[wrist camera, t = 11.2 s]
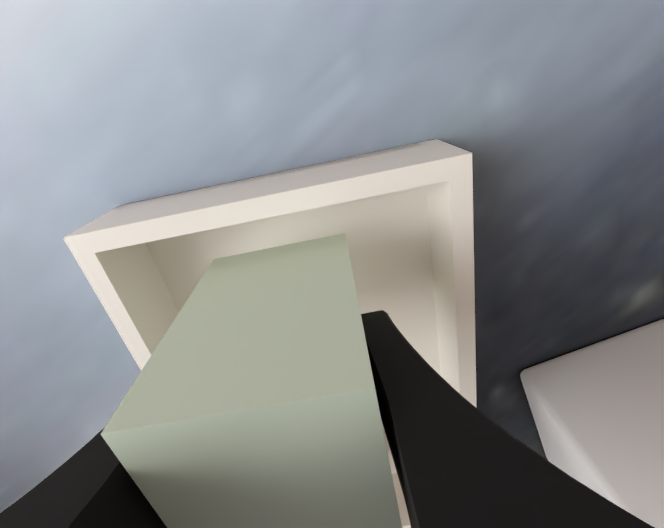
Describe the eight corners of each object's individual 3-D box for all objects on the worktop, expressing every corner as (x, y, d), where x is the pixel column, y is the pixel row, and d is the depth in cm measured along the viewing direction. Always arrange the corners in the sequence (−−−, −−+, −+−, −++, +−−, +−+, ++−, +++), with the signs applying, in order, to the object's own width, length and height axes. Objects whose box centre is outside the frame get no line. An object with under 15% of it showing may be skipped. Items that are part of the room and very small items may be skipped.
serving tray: (455, 461, 19) (478, 521, 17) (259, 493, 20) (249, 556, 17) (436, 138, 12) (472, 152, 9) (118, 205, 12) (63, 237, 10)
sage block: (366, 340, 12) (405, 542, 7) (252, 361, 12) (199, 572, 7) (345, 232, 10) (374, 386, 5) (213, 258, 10) (100, 434, 5)
